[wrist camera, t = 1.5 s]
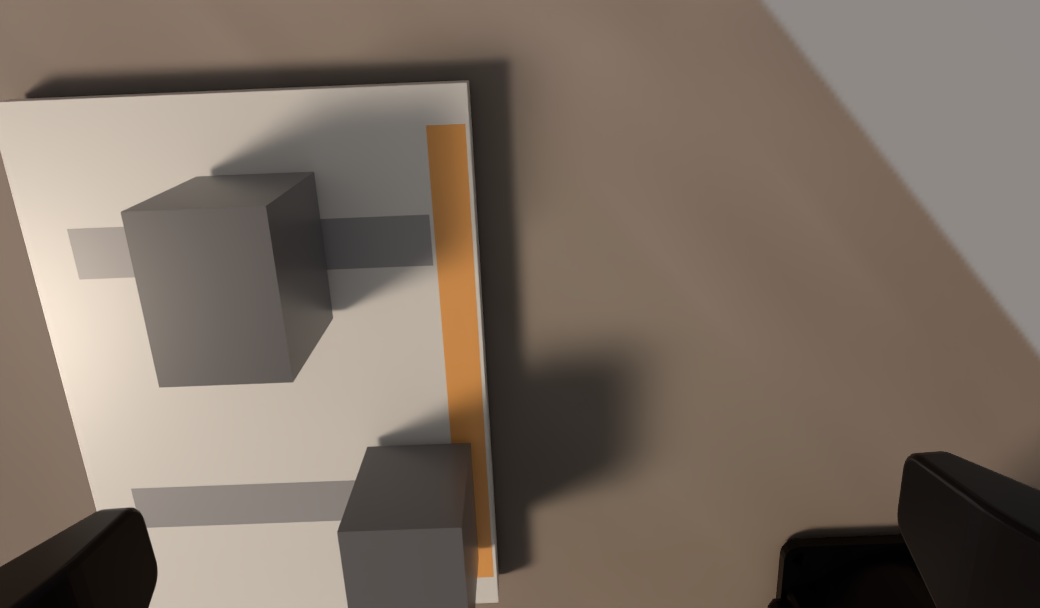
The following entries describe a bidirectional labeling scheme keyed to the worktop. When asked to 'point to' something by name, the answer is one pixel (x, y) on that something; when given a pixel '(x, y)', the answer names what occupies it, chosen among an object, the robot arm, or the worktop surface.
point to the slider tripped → (231, 278)
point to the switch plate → (332, 364)
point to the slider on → (411, 529)
